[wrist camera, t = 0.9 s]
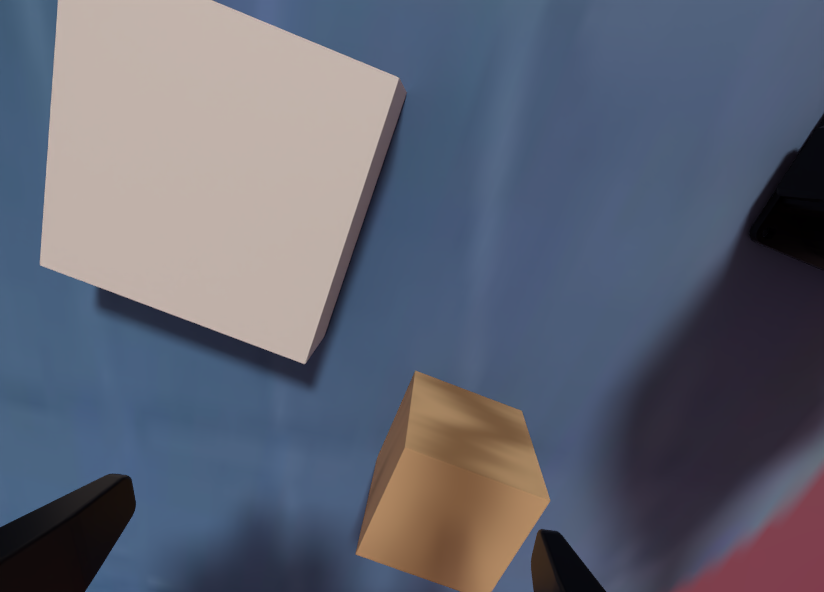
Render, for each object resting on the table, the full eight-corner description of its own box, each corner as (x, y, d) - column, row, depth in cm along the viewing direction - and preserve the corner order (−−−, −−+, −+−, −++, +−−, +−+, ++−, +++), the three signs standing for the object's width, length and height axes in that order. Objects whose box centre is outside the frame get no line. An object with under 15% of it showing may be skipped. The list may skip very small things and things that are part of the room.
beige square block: (406, 92, 17) (399, 78, 14) (324, 336, 20) (305, 364, 18) (129, -22, 16) (62, -61, 13) (97, 250, 20) (40, 265, 17)
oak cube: (521, 410, 21) (550, 501, 15) (475, 492, 23) (485, 600, 17) (415, 370, 21) (404, 447, 15) (377, 456, 23) (355, 554, 17)
